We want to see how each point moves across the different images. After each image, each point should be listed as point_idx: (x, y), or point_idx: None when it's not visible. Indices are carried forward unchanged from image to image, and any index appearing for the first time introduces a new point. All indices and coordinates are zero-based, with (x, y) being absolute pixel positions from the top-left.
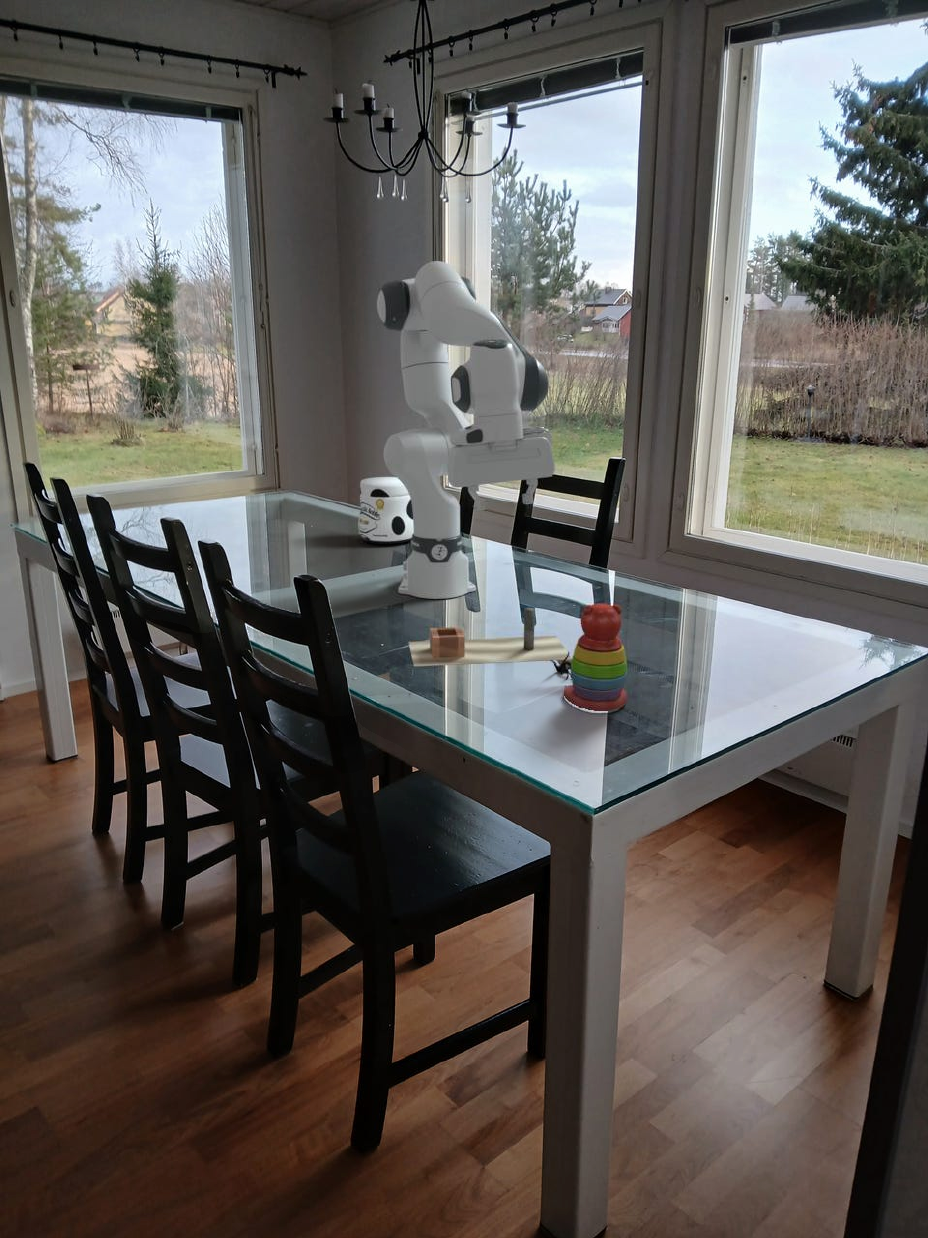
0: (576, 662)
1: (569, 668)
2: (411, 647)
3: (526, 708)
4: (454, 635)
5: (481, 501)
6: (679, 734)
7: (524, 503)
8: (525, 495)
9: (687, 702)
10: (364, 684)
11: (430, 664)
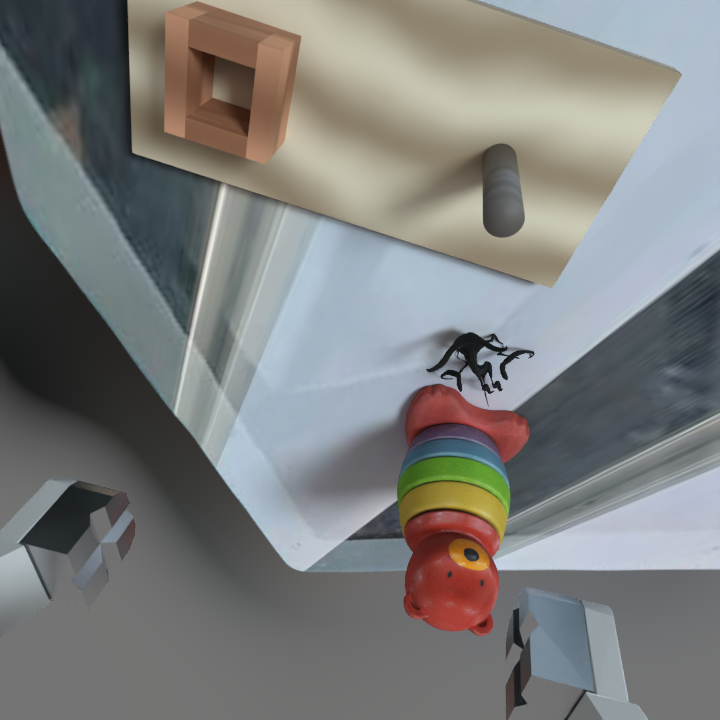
0: (398, 503)
1: (459, 389)
2: None
3: (329, 398)
4: (236, 137)
5: (59, 591)
6: None
7: (519, 604)
8: (506, 714)
9: (603, 489)
10: (21, 160)
11: (177, 159)
